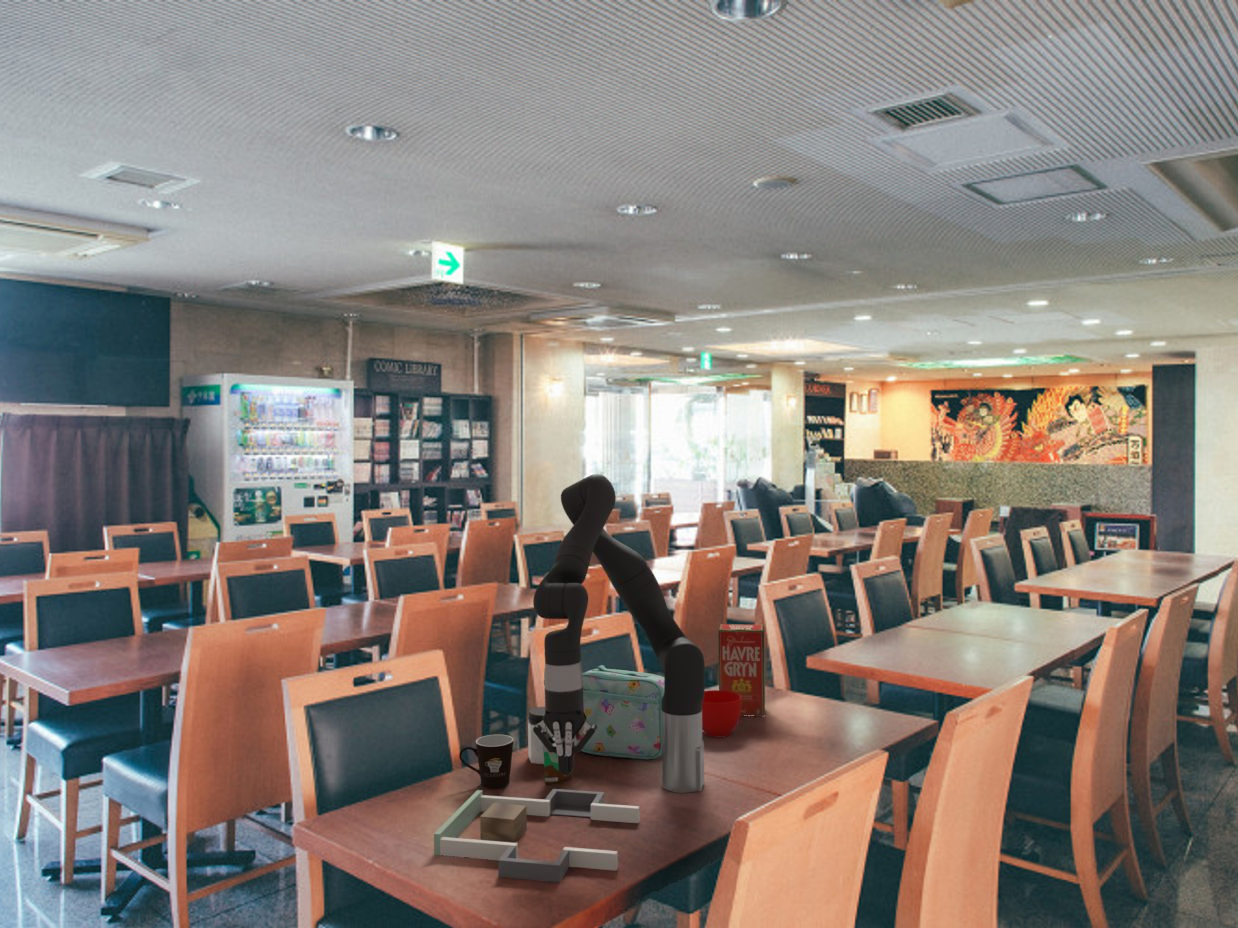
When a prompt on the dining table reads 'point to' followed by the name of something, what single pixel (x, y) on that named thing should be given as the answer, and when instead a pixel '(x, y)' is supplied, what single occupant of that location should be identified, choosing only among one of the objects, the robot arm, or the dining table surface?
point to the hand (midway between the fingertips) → (566, 773)
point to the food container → (553, 768)
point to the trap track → (552, 805)
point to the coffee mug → (493, 760)
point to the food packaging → (743, 665)
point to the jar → (533, 741)
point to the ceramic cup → (720, 712)
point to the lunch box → (623, 713)
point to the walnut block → (503, 823)
